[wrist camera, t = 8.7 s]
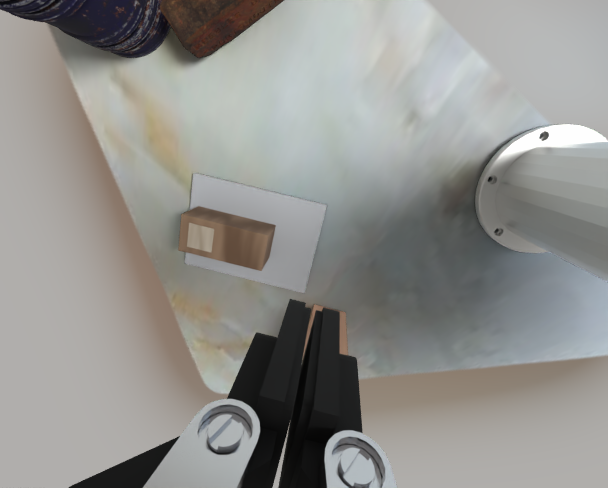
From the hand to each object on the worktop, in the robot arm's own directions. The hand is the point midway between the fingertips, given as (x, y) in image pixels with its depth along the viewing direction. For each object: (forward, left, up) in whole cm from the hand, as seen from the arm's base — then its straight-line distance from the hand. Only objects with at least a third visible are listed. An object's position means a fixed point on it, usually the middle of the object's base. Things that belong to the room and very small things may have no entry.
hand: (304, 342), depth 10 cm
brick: (+12, -16, -25) cm, 32 cm away
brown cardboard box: (+5, +6, -22) cm, 23 cm away
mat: (+7, +6, -24) cm, 26 cm away
